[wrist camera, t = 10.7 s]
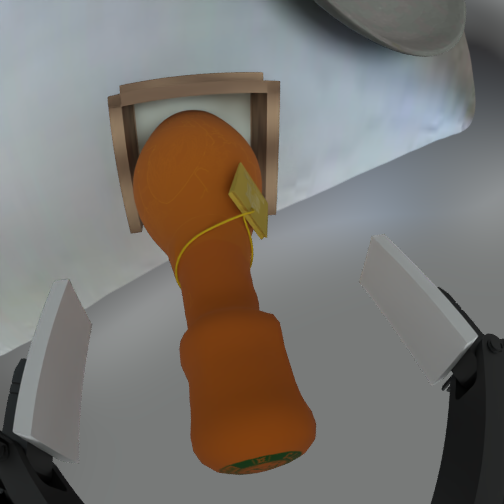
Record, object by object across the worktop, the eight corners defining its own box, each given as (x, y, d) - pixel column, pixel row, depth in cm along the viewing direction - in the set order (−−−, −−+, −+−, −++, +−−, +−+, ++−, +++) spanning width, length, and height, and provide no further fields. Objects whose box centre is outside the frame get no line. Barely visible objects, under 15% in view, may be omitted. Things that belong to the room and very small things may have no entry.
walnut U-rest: (260, 197, 36) (276, 222, 30) (138, 213, 33) (132, 241, 27) (261, 72, 27) (281, 71, 21) (121, 85, 24) (105, 86, 18)
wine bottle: (230, 189, 33) (351, 458, 9) (148, 191, 31) (125, 495, 7) (238, 109, 28) (509, 304, 4) (148, 107, 25) (-56, 372, 1)
